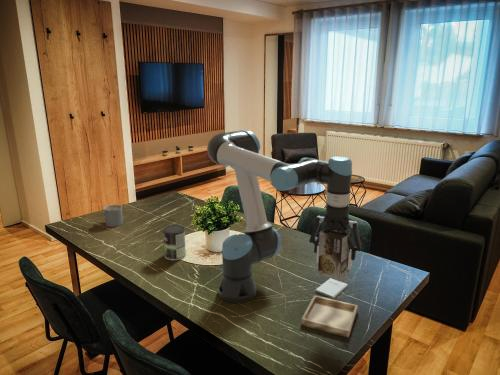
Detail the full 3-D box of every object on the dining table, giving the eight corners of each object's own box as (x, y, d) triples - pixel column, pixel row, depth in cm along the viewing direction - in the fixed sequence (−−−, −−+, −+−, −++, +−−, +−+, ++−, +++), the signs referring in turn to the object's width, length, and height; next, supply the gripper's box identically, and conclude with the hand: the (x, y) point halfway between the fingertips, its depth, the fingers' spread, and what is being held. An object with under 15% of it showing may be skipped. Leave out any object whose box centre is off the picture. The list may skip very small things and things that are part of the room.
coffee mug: (126, 223, 228) (125, 207, 226) (110, 228, 222) (108, 211, 219) (115, 217, 238) (114, 202, 235) (100, 222, 231) (98, 206, 228)
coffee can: (165, 261, 183) (164, 234, 179) (163, 252, 192) (161, 226, 188) (187, 258, 186) (186, 231, 182) (184, 249, 195) (183, 223, 191)
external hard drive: (315, 292, 159) (330, 280, 168) (333, 300, 154) (347, 287, 163) (315, 289, 158) (330, 277, 167) (333, 296, 153) (347, 283, 162)
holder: (301, 324, 138) (301, 318, 137) (314, 300, 152) (314, 295, 151) (348, 337, 131) (349, 331, 130) (357, 311, 145) (357, 305, 145)
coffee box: (349, 275, 136) (352, 232, 131) (339, 282, 131) (342, 238, 126) (326, 266, 142) (329, 225, 137) (316, 273, 137) (319, 230, 132)
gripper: (301, 202, 130) (299, 262, 137) (371, 212, 121) (365, 276, 127) (307, 196, 137) (305, 254, 143) (374, 205, 128) (369, 266, 134)
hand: (333, 264), depth 135 cm, fingers closed on coffee box, 10 cm apart
